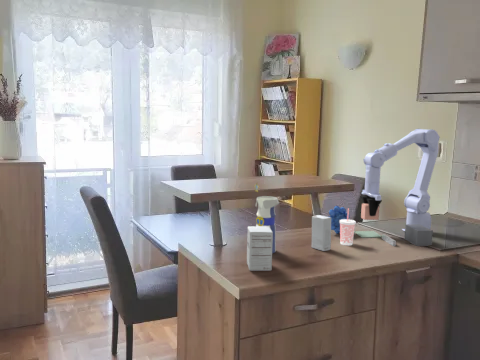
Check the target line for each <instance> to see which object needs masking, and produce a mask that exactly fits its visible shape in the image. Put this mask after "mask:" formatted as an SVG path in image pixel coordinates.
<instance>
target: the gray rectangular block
mask: <svg viewBox="0 0 480 360" xmlns="http://www.w3.org/2000/svg"><path fill="white" fill-rule="evenodd" d="M404 229H405V231H404V237H403V238H404V239H403V240H406V241H408V242H409V243H410V244H413V245H414V246H416V247H429V246H428V245H433V244H432V242H433V234H434V232H433V230H432V229H431V230H430V229H428V228H426V227H424V226H422V225H420V224H405V228H404Z"/></svg>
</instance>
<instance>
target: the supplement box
mask: <svg viewBox="0 0 480 360" xmlns="http://www.w3.org/2000/svg"><path fill="white" fill-rule="evenodd" d="M246 237H247V238H246V239H247V240H246V241H247V242H246V264H247V266H248V270H249V271H251V272H252V271H253V272H255V271H256V272H257V271H258V272H259V271H262V272H263V271H268V272H269V271H272V269H273V266H272V265H273V262H272V261H273V253H272V243H273V232H272V230H271V229H270V227H269V226H256V225H255V226H254V225H253V226H249V225H248V226H247V235H246Z"/></svg>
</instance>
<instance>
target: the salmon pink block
mask: <svg viewBox="0 0 480 360" xmlns="http://www.w3.org/2000/svg"><path fill="white" fill-rule="evenodd" d="M380 205H381V204H380ZM380 205H379V206H378V209H377V212H376V215H375V216H370V214H369V204H364V203H361V210H360V212H361V213H360V218H361V219H362V220H365V221H366V220H367V221H374V220H375V221H379V219H380Z"/></svg>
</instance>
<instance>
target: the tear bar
mask: <svg viewBox="0 0 480 360" xmlns="http://www.w3.org/2000/svg"><path fill="white" fill-rule="evenodd" d="M381 236H382V237H381V240H383V241H385V243H387V244H389V245H390V246H392V247H396V245H397V241H396V240H395V239H393V238H391V237H390V236H388V235H387V234H385V233H384V234H383V233H382V235H381Z"/></svg>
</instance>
